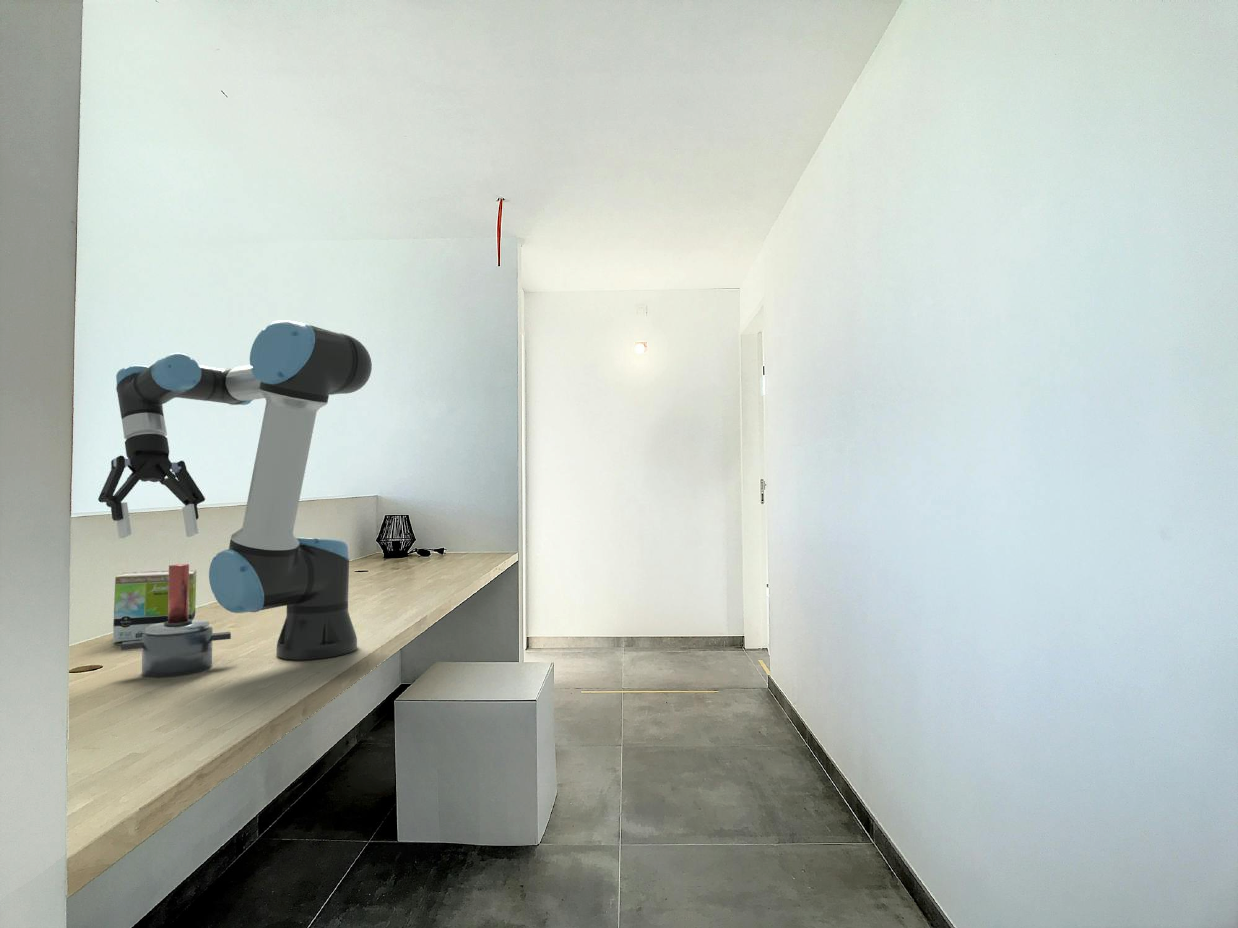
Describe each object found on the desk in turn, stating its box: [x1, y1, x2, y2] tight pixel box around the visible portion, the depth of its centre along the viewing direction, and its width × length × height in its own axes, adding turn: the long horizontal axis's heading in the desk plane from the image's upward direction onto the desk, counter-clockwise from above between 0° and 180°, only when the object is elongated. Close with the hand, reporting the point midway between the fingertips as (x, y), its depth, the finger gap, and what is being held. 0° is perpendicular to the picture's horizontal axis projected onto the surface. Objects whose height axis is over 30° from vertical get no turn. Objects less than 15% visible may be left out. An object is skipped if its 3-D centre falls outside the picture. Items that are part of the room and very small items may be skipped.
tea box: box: [112, 569, 197, 644], centre depth 161 cm, size 15×10×15 cm, turn 117°
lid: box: [145, 563, 210, 637], centre depth 130 cm, size 10×10×12 cm
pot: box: [120, 625, 232, 678], centre depth 130 cm, size 17×11×7 cm, turn 121°
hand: (160, 535), depth 143 cm, fingers open, 13 cm apart
